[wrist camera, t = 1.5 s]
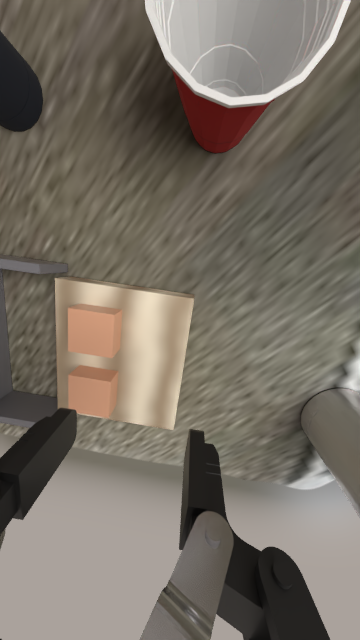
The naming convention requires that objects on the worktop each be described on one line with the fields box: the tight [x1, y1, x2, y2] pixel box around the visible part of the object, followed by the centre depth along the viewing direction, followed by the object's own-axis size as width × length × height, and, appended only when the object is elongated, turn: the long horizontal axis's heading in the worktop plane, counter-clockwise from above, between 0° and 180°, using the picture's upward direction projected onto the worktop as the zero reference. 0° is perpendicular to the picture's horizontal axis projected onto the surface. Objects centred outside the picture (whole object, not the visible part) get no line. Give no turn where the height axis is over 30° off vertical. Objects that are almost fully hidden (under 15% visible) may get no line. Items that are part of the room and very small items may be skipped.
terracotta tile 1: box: [68, 303, 122, 358], centre depth 24 cm, size 5×5×2 cm
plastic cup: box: [145, 0, 351, 153], centre depth 16 cm, size 11×11×12 cm
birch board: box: [55, 276, 194, 430], centre depth 28 cm, size 16×18×3 cm
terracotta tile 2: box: [68, 365, 118, 418], centre depth 26 cm, size 5×5×2 cm
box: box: [0, 254, 68, 428], centre depth 27 cm, size 10×21×5 cm, turn 172°
